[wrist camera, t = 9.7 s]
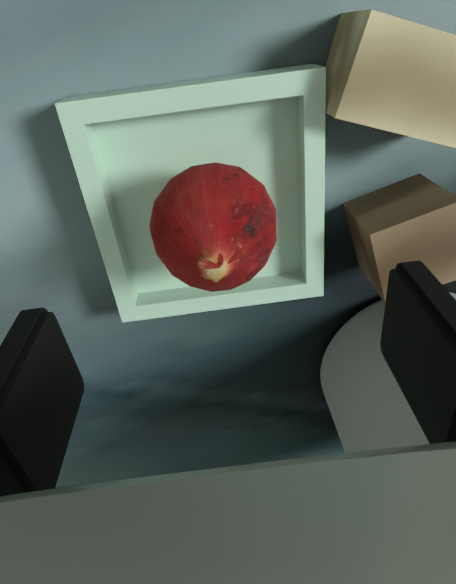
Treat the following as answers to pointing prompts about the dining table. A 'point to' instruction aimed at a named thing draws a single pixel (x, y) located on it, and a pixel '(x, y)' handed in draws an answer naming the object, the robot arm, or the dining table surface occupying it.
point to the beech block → (393, 76)
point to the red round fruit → (213, 226)
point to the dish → (196, 151)
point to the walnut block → (404, 230)
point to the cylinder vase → (366, 388)
